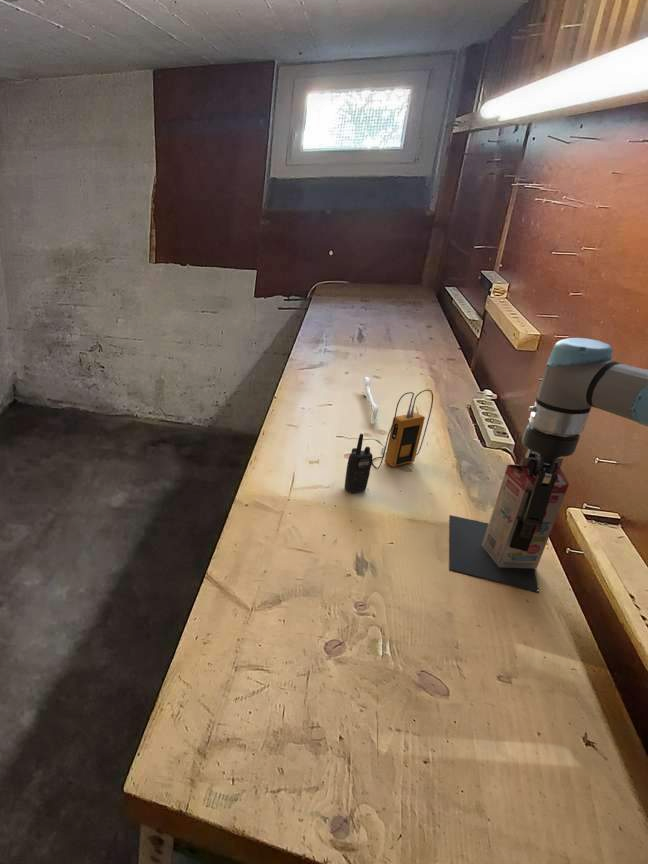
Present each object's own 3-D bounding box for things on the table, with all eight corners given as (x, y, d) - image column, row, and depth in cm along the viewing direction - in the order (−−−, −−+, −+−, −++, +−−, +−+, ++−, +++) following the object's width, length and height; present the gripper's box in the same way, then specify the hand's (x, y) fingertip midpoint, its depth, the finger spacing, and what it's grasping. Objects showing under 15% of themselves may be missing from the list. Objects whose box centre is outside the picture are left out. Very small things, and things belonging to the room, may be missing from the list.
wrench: (359, 391, 186) (362, 374, 183) (366, 391, 185) (369, 374, 183) (370, 427, 162) (374, 408, 159) (378, 427, 161) (382, 409, 159)
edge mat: (527, 532, 116) (527, 531, 116) (538, 592, 100) (539, 592, 100) (449, 515, 122) (449, 514, 122) (449, 570, 107) (449, 569, 107)
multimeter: (396, 443, 153) (411, 374, 144) (425, 460, 144) (443, 388, 135) (351, 453, 149) (364, 383, 140) (379, 471, 140) (394, 397, 131)
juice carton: (481, 545, 112) (512, 448, 103) (517, 546, 112) (552, 449, 102) (498, 567, 107) (533, 466, 97) (536, 568, 106) (575, 467, 96)
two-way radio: (348, 494, 131) (358, 437, 124) (337, 485, 135) (347, 429, 128) (369, 491, 132) (380, 434, 125) (358, 481, 136) (368, 426, 129)
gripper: (521, 402, 107) (489, 502, 117) (534, 449, 90) (496, 561, 100) (570, 409, 103) (533, 511, 113) (593, 459, 87) (547, 573, 97)
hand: (515, 534), depth 107 cm, fingers closed on juice carton, 8 cm apart
